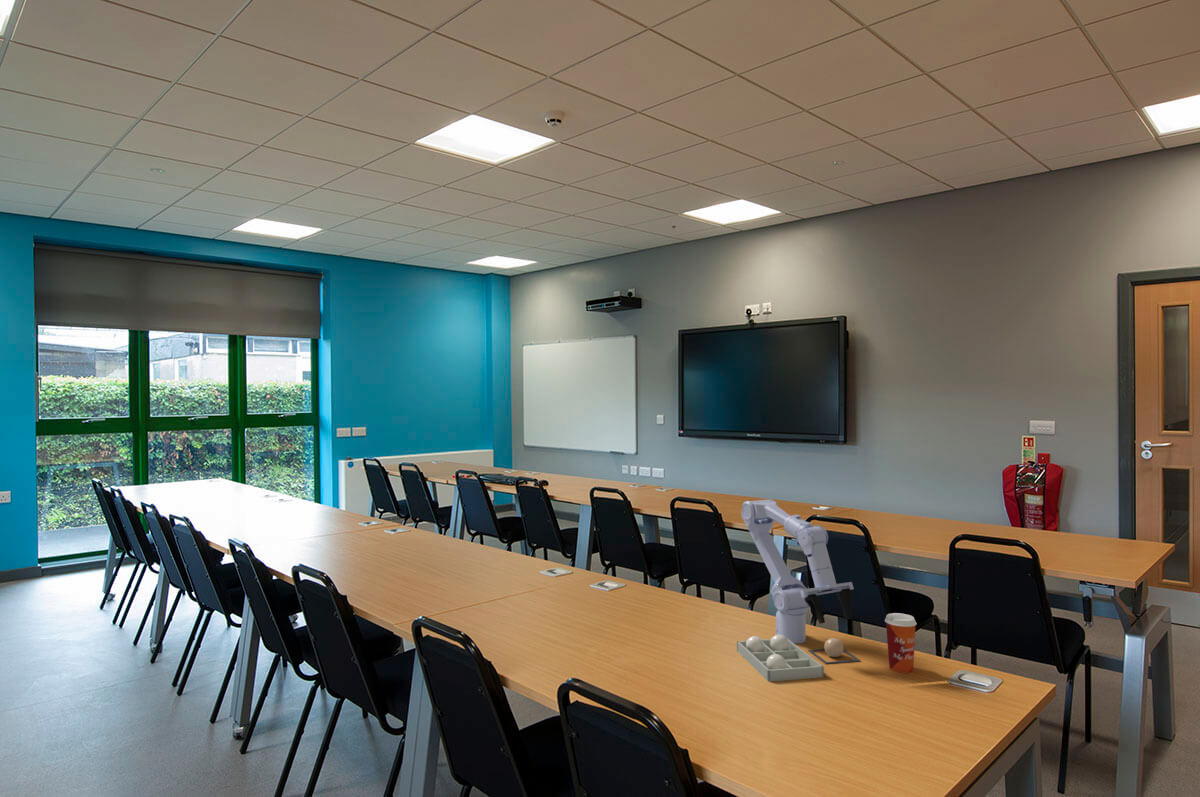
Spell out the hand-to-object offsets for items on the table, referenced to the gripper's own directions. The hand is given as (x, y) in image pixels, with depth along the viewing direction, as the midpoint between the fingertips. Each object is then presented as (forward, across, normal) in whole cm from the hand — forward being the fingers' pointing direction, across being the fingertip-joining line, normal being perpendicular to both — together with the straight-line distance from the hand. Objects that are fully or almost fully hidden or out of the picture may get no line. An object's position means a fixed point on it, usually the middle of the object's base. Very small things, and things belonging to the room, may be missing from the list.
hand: (835, 621), depth 188 cm
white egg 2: (+6, -14, +10) cm, 18 cm away
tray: (+9, -17, +4) cm, 20 cm away
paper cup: (+15, +12, -4) cm, 20 cm away
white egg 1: (+5, -21, +10) cm, 24 cm away
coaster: (+10, 0, +6) cm, 11 cm away
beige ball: (+9, 0, +6) cm, 11 cm away
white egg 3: (+10, -21, -3) cm, 23 cm away
